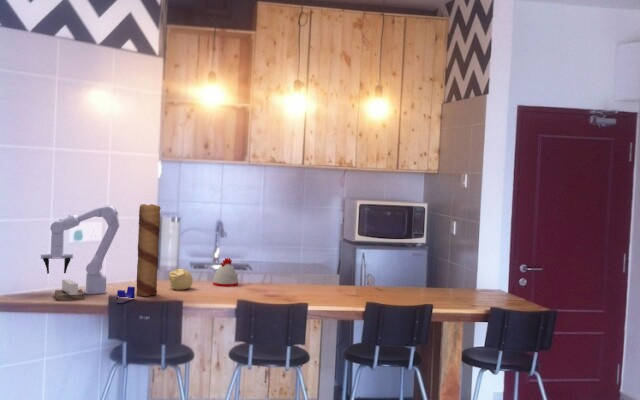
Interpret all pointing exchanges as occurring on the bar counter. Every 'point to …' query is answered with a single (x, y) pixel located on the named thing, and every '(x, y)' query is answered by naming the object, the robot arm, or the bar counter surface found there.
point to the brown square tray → (65, 296)
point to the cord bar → (70, 287)
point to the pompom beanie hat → (225, 275)
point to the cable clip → (129, 293)
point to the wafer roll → (148, 249)
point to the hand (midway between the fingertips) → (56, 273)
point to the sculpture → (180, 279)
